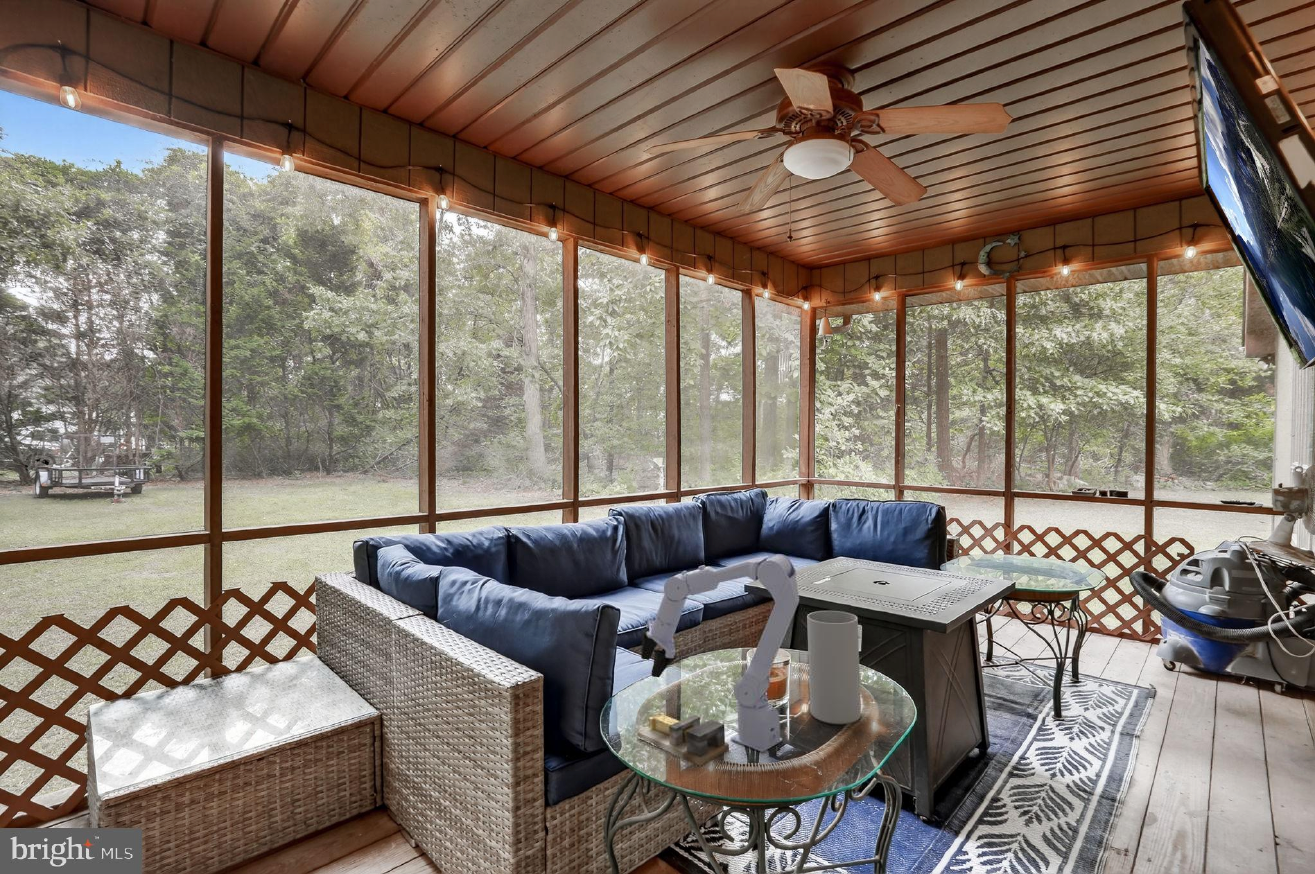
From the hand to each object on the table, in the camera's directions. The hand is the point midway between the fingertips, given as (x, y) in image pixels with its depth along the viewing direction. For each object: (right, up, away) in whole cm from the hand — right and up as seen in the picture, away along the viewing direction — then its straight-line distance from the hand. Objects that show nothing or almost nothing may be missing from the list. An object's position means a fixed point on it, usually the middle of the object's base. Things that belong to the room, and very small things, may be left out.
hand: (650, 667), depth 163 cm
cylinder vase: (+48, -13, +1) cm, 49 cm away
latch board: (+8, -14, -13) cm, 20 cm away
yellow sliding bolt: (+6, -12, -10) cm, 17 cm away
